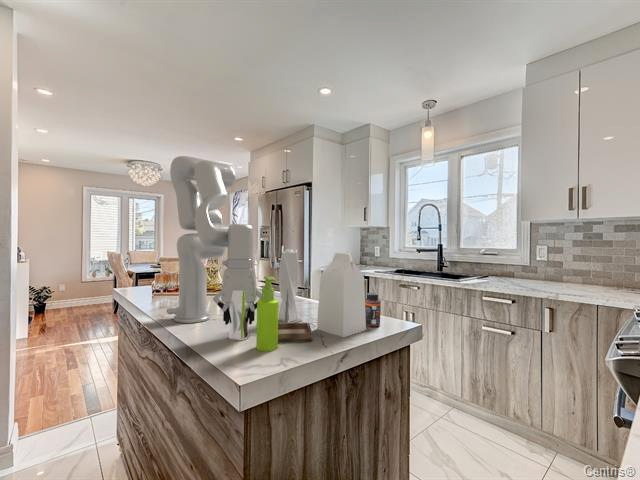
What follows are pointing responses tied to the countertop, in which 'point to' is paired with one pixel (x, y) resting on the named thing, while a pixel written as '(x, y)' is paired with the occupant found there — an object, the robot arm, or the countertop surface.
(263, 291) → the soap dispenser
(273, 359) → the countertop surface
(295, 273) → the skyscraper
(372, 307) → the supplement bottle
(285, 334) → the walnut tray
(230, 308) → the beer glass
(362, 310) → the milk
